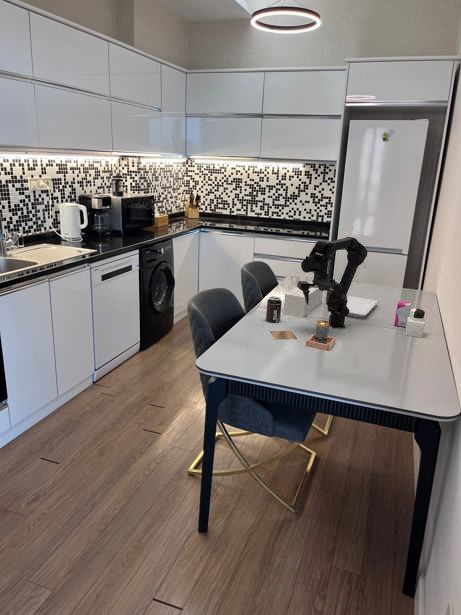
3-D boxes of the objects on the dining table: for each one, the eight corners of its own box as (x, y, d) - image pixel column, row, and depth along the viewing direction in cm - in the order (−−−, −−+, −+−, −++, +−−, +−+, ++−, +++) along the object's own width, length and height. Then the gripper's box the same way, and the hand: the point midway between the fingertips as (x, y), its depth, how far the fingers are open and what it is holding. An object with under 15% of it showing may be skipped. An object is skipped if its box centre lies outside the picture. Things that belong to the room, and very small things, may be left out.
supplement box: (407, 324, 226) (411, 302, 223) (406, 328, 221) (410, 305, 217) (395, 322, 228) (398, 300, 225) (393, 326, 223) (397, 303, 220)
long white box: (303, 318, 228) (305, 297, 224) (283, 314, 232) (284, 293, 229) (321, 303, 255) (323, 284, 252) (302, 299, 260) (304, 281, 256)
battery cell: (319, 341, 196) (322, 319, 193) (328, 345, 192) (331, 322, 189) (311, 344, 193) (314, 321, 190) (321, 348, 189) (323, 325, 186)
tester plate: (291, 332, 207) (291, 330, 206) (297, 340, 197) (297, 339, 197) (269, 332, 205) (269, 331, 205) (275, 341, 195) (275, 339, 195)
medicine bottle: (421, 333, 215) (426, 308, 212) (422, 338, 209) (426, 313, 205) (405, 330, 218) (409, 306, 214) (405, 335, 211) (410, 310, 208)
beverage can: (279, 325, 215) (281, 300, 211) (264, 323, 216) (266, 299, 213) (280, 320, 221) (282, 296, 218) (266, 319, 223) (268, 295, 219)
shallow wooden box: (311, 340, 199) (312, 333, 198) (334, 344, 195) (335, 338, 194) (305, 347, 190) (306, 340, 190) (329, 352, 187) (330, 345, 186)
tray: (332, 315, 236) (332, 308, 235) (347, 300, 262) (348, 295, 261) (365, 321, 228) (366, 314, 227) (377, 306, 255) (378, 300, 254)
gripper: (306, 274, 192) (302, 309, 196) (348, 275, 195) (343, 310, 199) (298, 268, 202) (294, 302, 207) (338, 269, 205) (334, 302, 210)
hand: (317, 304), depth 205 cm, fingers open, 9 cm apart
